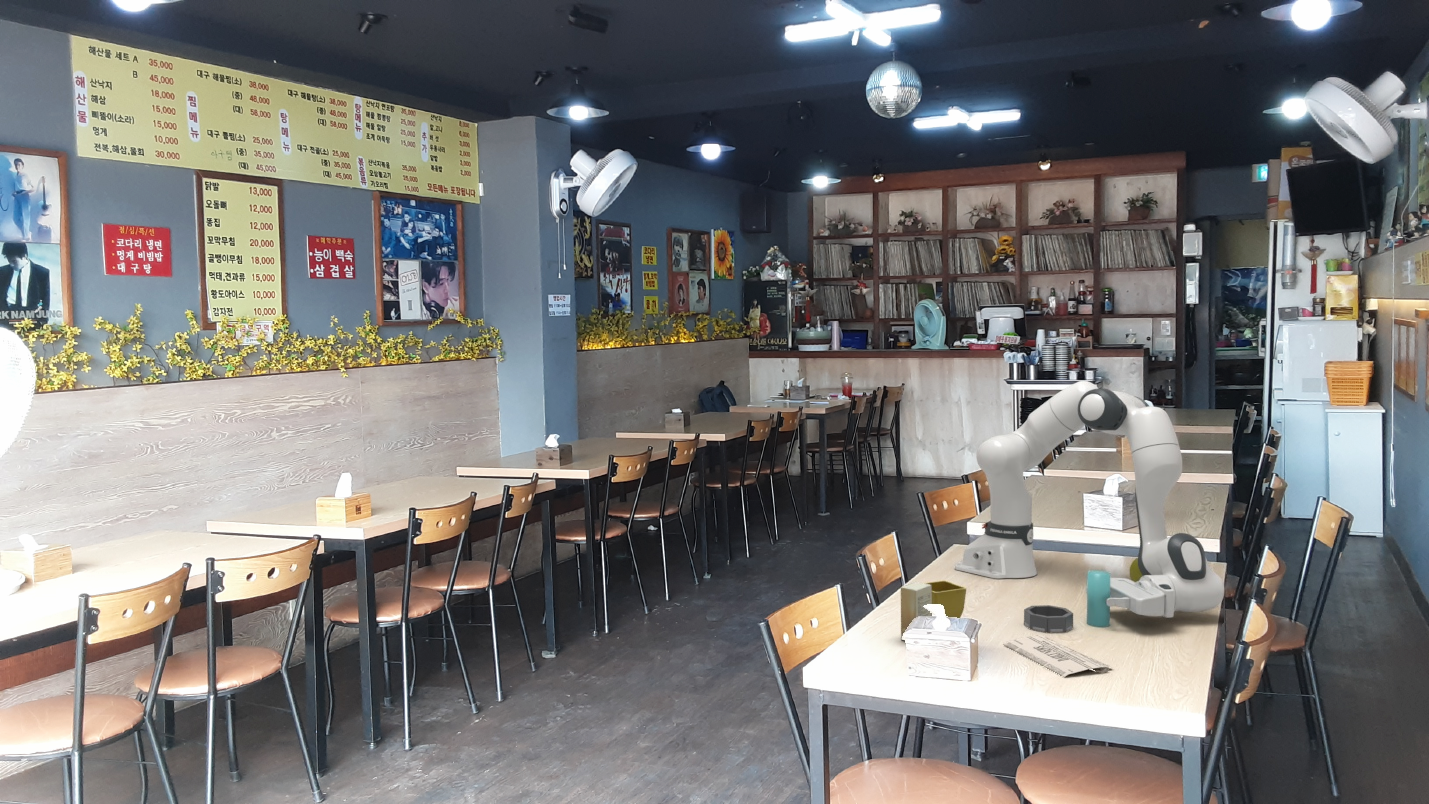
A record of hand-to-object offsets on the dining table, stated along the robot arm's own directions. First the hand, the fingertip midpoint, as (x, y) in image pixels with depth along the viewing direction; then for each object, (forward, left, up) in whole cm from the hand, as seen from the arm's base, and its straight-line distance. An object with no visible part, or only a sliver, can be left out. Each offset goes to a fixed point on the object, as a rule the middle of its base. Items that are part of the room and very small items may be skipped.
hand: (1096, 596), depth 240 cm
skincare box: (-26, -37, -7) cm, 45 cm away
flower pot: (-28, -23, -7) cm, 36 cm away
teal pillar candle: (0, 0, -7) cm, 7 cm away
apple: (-3, +39, -7) cm, 40 cm away
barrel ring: (-8, -9, -7) cm, 13 cm away
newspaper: (+3, -29, -7) cm, 30 cm away
